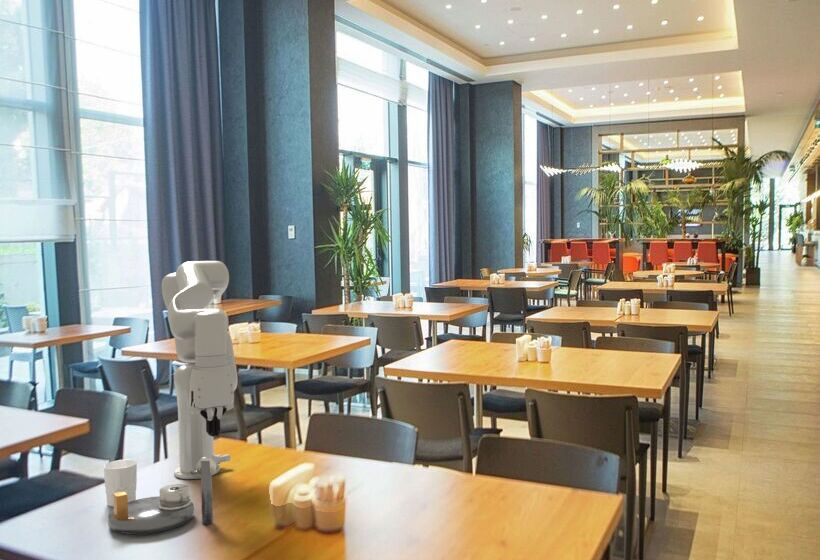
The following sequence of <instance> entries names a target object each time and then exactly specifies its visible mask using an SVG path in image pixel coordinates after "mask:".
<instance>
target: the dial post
mask: <svg viewBox="0 0 820 560" xmlns="http://www.w3.org/2000/svg"><path fill="white" fill-rule="evenodd" d="M196 469H197V471H191V472H190V474H200V475H201V478H200V484H201V485H200V486H201V489H200V491H201V494H200V495H201V524H202V525H204V526H210V525H212V524H213V523H214V522H213V520H214V519H213V517H214V515H213V514H214V513H213V510H214V509H213V483H212V482H213V481H212V480H213V475H212V473H213V472H214V471H215V469H216V463H215V461H214V460H213V459H212V458H210V457H203V458H201V459H200V460H199V461H198V462H197V464H196Z"/></svg>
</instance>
